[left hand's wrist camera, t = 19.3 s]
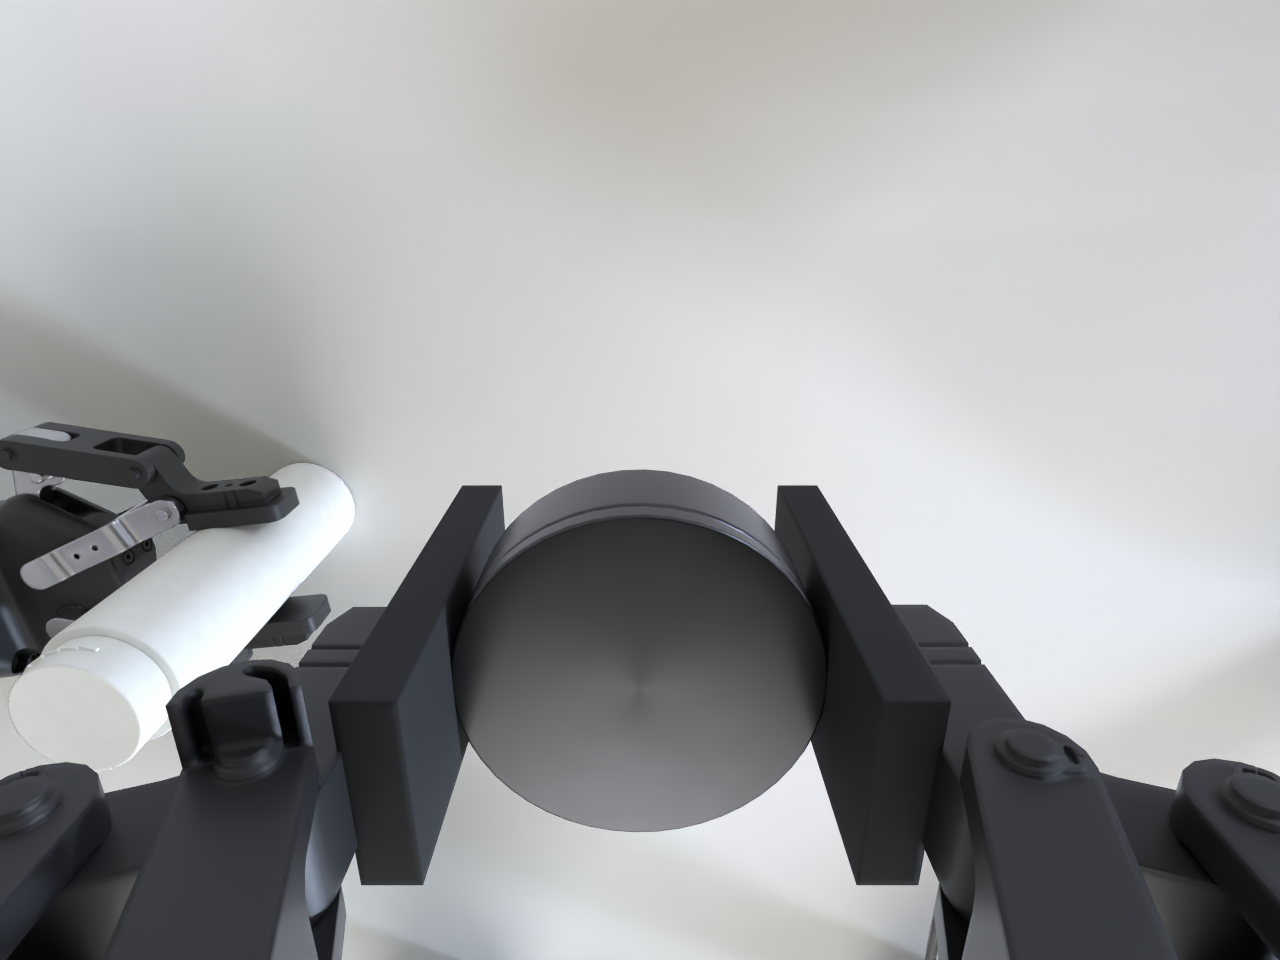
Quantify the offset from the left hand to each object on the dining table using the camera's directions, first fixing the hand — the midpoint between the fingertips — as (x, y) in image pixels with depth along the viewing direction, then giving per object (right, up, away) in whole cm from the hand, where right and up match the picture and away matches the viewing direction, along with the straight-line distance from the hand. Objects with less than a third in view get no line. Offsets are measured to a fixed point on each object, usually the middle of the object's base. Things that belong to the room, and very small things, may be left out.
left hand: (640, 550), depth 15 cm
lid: (0, -1, -4) cm, 4 cm away
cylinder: (-17, 0, +23) cm, 28 cm away
